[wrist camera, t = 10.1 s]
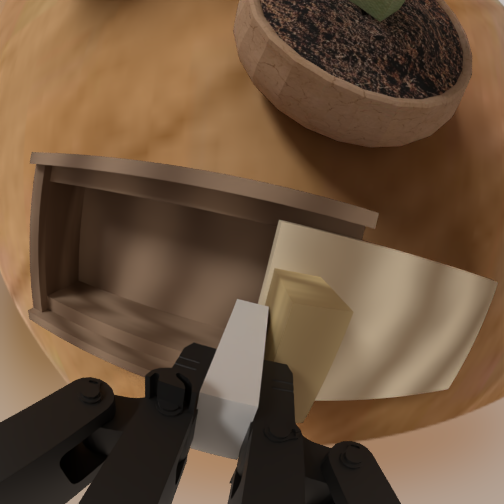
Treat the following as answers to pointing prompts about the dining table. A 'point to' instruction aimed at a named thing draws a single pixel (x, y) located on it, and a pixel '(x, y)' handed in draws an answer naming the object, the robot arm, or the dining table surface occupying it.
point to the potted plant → (357, 65)
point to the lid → (366, 317)
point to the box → (156, 251)
